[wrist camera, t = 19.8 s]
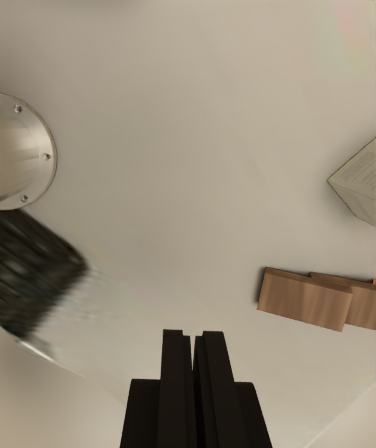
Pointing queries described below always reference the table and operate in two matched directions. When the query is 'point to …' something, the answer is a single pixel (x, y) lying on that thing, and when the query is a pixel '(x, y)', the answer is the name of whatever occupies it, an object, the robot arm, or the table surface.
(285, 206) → the table surface
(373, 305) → the domino
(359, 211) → the small box
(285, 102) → the table surface
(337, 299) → the domino
